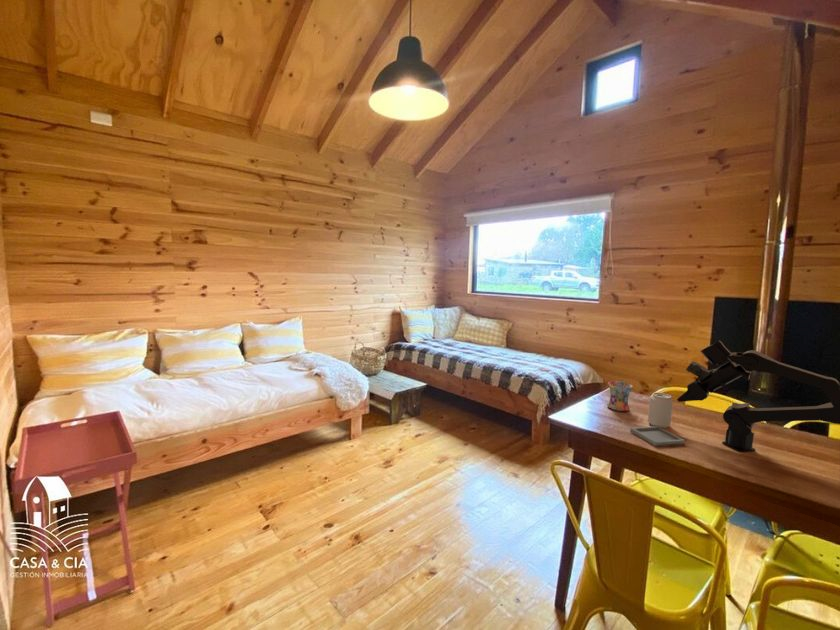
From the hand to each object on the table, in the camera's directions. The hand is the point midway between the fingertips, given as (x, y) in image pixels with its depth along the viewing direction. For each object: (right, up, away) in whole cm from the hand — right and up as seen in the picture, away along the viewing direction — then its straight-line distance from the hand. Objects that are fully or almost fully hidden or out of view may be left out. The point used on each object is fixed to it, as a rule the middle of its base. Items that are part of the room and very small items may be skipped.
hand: (681, 397), depth 142 cm
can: (-5, -12, +6) cm, 14 cm away
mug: (-11, -9, +23) cm, 27 cm away
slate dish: (-13, -13, -6) cm, 19 cm away
